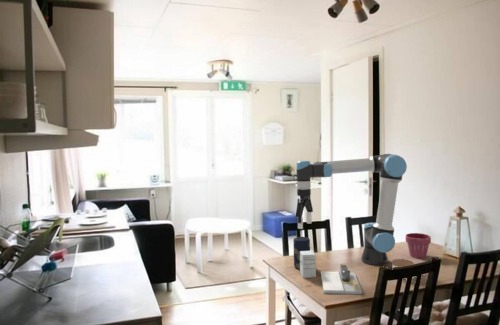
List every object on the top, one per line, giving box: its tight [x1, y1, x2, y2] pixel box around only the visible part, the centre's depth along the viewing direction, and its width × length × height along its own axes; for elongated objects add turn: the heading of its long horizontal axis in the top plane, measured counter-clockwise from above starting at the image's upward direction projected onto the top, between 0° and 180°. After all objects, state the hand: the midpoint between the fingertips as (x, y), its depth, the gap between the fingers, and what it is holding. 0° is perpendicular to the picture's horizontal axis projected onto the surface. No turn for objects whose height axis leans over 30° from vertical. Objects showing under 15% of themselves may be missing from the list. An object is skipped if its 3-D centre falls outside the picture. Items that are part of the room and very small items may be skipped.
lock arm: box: [339, 263, 351, 281], centre depth 208 cm, size 14×4×5 cm, turn 173°
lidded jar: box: [391, 258, 415, 269], centre depth 211 cm, size 11×11×9 cm
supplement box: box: [299, 250, 317, 279], centre depth 216 cm, size 7×7×13 cm
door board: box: [320, 270, 363, 295], centre depth 203 cm, size 18×26×4 cm
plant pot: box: [405, 232, 432, 259], centre depth 244 cm, size 14×14×13 cm
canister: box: [293, 236, 311, 270], centre depth 229 cm, size 10×10×18 cm
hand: (304, 226), depth 224 cm, fingers open, 13 cm apart
